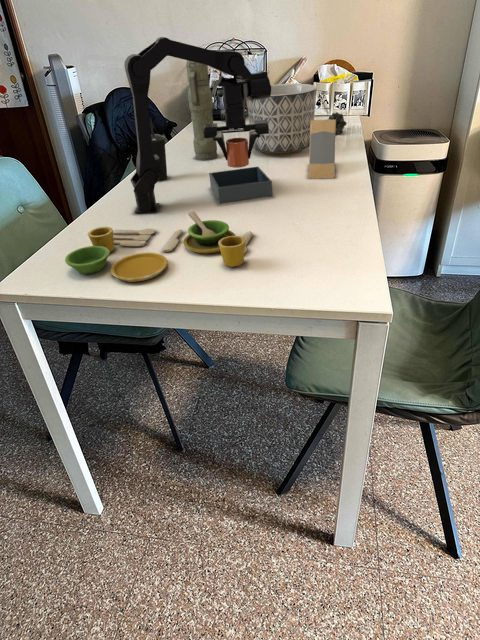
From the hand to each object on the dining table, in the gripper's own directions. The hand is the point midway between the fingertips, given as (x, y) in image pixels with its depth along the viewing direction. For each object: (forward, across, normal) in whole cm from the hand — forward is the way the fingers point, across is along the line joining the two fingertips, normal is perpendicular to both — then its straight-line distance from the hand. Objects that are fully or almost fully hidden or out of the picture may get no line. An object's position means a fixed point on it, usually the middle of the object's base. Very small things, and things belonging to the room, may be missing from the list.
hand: (238, 159), depth 135 cm
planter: (+10, -17, -46) cm, 50 cm away
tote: (+10, 0, 0) cm, 10 cm away
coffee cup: (+2, 0, 0) cm, 2 cm away
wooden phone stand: (+10, -28, -16) cm, 34 cm away
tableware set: (+10, +19, +41) cm, 46 cm away
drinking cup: (+10, +28, -20) cm, 36 cm away
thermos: (+10, +13, -44) cm, 47 cm away
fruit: (+10, -43, -70) cm, 82 cm away
